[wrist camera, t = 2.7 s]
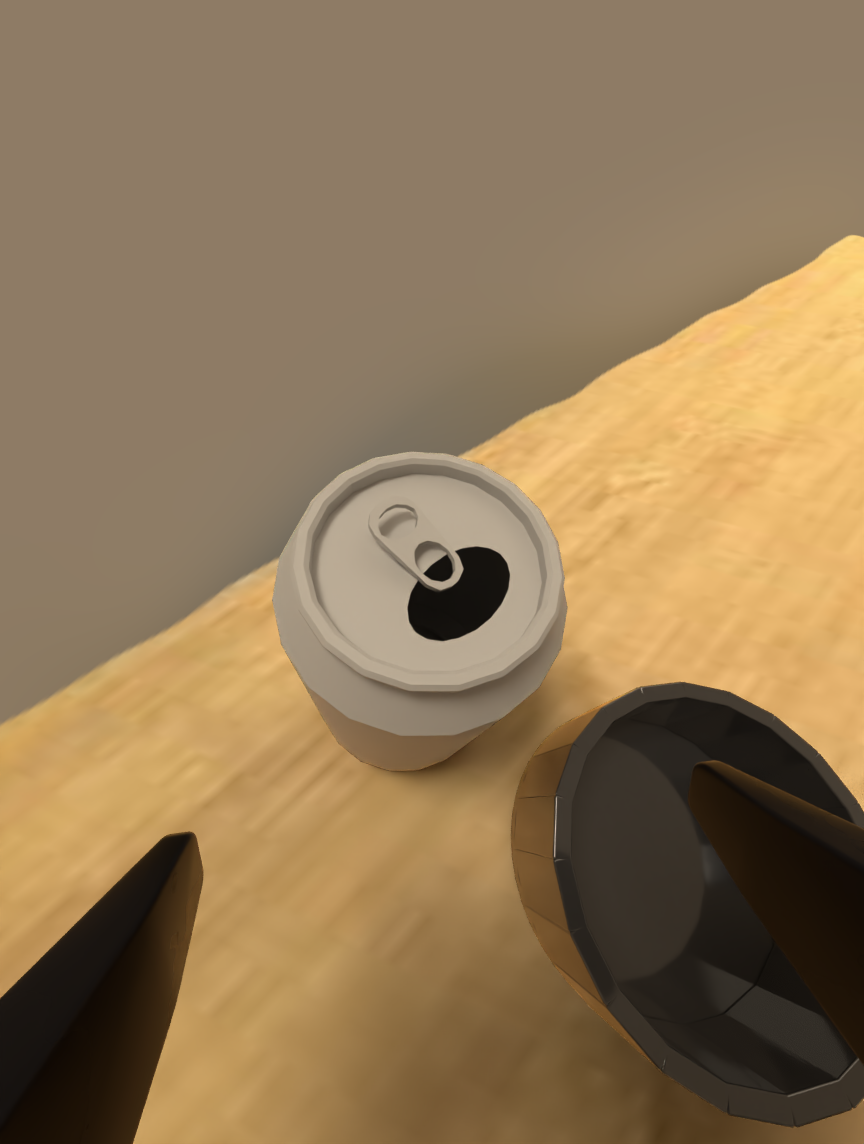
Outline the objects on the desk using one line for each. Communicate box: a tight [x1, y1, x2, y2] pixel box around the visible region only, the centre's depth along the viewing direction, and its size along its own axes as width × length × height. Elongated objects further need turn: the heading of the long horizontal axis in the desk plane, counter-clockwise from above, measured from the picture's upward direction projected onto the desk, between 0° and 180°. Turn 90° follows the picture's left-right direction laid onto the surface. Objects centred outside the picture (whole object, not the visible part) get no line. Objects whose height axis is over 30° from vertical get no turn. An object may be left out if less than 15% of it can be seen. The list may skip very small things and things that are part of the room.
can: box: [272, 452, 567, 771], centre depth 15 cm, size 8×8×12 cm
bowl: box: [511, 682, 864, 1128], centre depth 16 cm, size 11×11×5 cm
